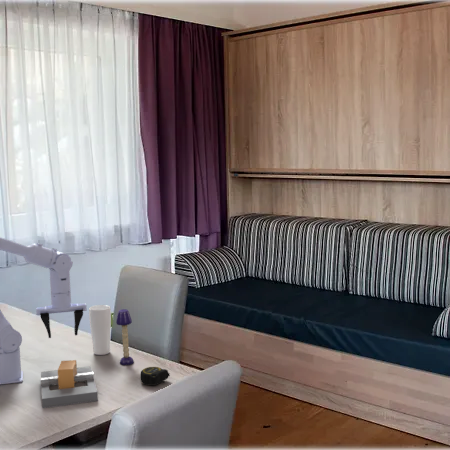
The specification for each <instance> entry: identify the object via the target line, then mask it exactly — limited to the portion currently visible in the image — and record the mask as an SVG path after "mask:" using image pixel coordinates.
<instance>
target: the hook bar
mask: <svg viewBox="0 0 450 450" xmlns="http://www.w3.org/2000/svg"><path fill="white" fill-rule="evenodd" d="M93 379H94V380H95V373H94V371H92V372H87V373H78V374H75V377H74V382H76V381H84V380H93ZM40 382H41V383H40V385H41V386H43V385H52V384H58V376H53V377H45V378H41V377H40ZM84 382H85V381H84ZM52 386H53V385H52Z"/></svg>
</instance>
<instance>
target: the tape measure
mask: <svg viewBox="0 0 450 450" xmlns="http://www.w3.org/2000/svg"><path fill="white" fill-rule="evenodd" d="M170 374H171V373H170V372H169V371H168V369H166V368H161V367H159V366H148V367H145V368H143V369H141V371H140V377H139V378H140V382H141V383H142V384H144V385H147V386H156V385H158V384H160V383H162V382H164V381H166V380H168V379H169V377H170Z"/></svg>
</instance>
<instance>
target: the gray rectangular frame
mask: <svg viewBox="0 0 450 450" xmlns="http://www.w3.org/2000/svg"><path fill="white" fill-rule="evenodd" d="M87 372H93V369H92V366H91V365H90V366H89V365H88V366H81V367H77V374H78V373H87ZM53 376H58V369H55V370H46V371H40V379H41V378H45V377H53ZM84 382H85V386H84V385H83V386H75V387H74V388H66V389H59V388H57V389H52V390H51V389H50V387H52V386H59V385H58V384H52V385H43V386H41V388H40V389H41V406H42V409H46V408H55V407H63V406H70V405H71V406H72V405H77V404H83V403H84V404H85V403H92V402H93V403H94V402H98V401H99V393H98V389H97V384H96V381H95V378H94V379H93V380H84V381H77V383H84Z"/></svg>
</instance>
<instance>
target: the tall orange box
mask: <svg viewBox="0 0 450 450" xmlns="http://www.w3.org/2000/svg"><path fill="white" fill-rule="evenodd" d="M77 368H78V367H77V360H76V359H74V360H61V362H60V364H59V366H58V368H57V370H58V385H57V386H58V389H66V388H74V387H76V385H75V384H77V383H78V382H77V381H76V382H74V377H75V374H77Z"/></svg>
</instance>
